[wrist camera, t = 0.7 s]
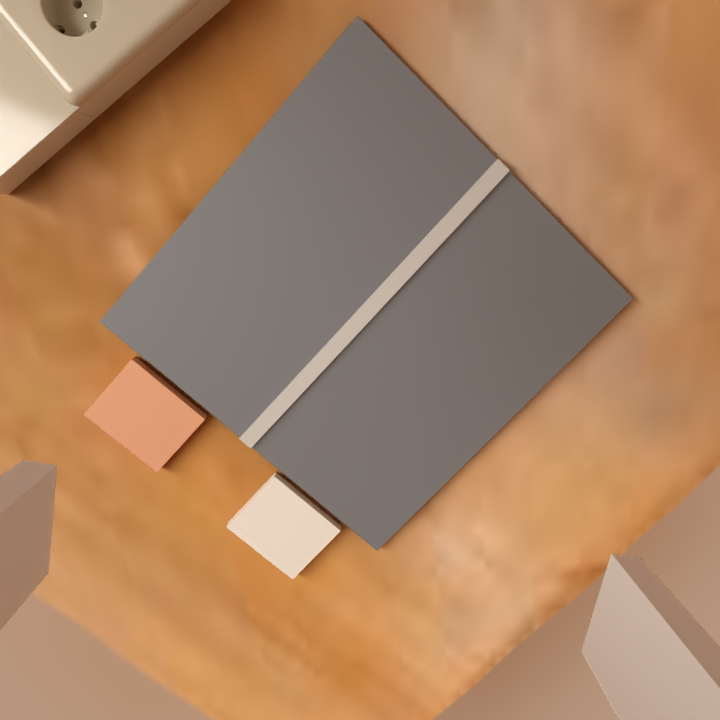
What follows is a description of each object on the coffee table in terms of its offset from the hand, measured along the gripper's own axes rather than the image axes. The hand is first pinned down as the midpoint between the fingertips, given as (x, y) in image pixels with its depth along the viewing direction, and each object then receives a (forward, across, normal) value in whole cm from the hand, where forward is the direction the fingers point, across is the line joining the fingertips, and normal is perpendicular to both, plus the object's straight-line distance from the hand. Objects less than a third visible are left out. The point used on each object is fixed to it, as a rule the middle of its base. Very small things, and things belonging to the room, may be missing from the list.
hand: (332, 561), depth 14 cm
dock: (+26, 0, 0) cm, 26 cm away
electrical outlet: (+27, -18, +15) cm, 35 cm away
